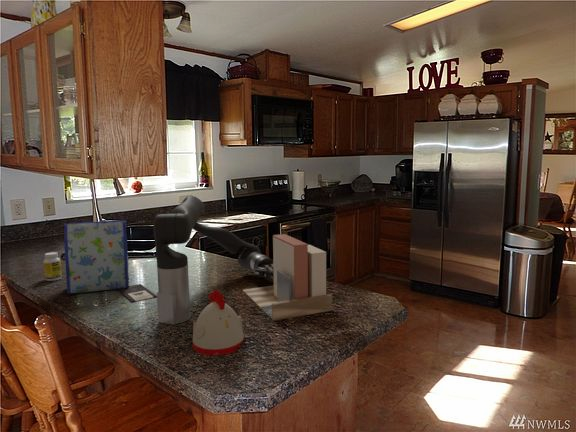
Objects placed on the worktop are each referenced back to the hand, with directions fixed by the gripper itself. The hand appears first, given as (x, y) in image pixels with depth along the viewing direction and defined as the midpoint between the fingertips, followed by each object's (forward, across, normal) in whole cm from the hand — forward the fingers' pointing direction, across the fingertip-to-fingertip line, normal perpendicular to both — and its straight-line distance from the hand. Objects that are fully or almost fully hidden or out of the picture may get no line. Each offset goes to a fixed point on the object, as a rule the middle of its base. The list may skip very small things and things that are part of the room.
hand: (279, 276), depth 151 cm
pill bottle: (-63, -76, +8) cm, 99 cm away
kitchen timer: (+26, -29, +8) cm, 40 cm away
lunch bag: (-42, -58, +8) cm, 73 cm away
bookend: (+14, -7, +7) cm, 17 cm away
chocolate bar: (-28, -46, +8) cm, 55 cm away
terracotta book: (+9, 0, +7) cm, 11 cm away
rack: (+4, 0, +8) cm, 9 cm away
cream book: (+13, +6, +7) cm, 16 cm away
